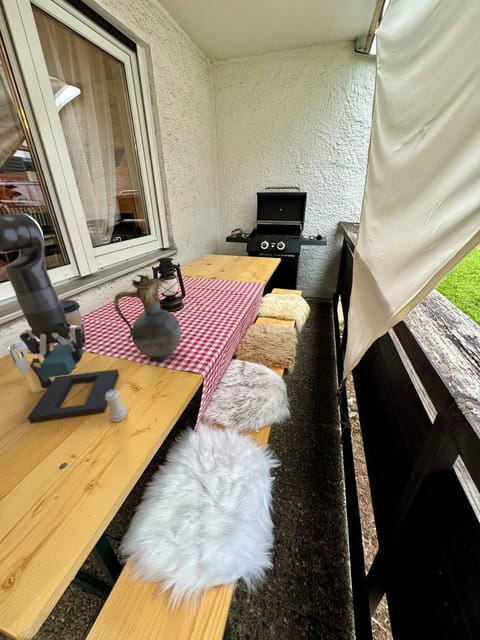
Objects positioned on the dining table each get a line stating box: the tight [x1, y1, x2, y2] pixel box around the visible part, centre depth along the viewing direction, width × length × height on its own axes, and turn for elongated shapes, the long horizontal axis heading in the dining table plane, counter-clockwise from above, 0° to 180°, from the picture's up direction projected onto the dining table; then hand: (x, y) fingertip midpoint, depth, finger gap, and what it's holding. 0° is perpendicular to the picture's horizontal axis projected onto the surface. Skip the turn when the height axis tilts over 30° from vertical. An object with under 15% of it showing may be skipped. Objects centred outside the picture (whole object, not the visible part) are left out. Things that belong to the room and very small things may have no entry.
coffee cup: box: [60, 299, 86, 341], centre depth 99 cm, size 9×9×15 cm
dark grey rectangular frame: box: [27, 369, 120, 424], centre depth 74 cm, size 18×16×2 cm
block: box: [41, 343, 85, 378], centre depth 68 cm, size 6×10×4 cm, turn 10°
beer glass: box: [7, 339, 55, 394], centre depth 75 cm, size 7×7×15 cm
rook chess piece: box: [105, 389, 128, 423], centre depth 66 cm, size 4×4×8 cm
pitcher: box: [113, 274, 182, 362], centre depth 84 cm, size 11×19×30 cm, turn 97°
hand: (65, 362), depth 69 cm, fingers closed on block, 5 cm apart
